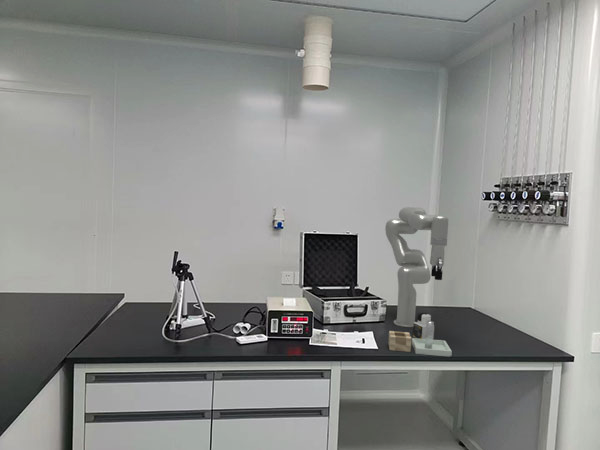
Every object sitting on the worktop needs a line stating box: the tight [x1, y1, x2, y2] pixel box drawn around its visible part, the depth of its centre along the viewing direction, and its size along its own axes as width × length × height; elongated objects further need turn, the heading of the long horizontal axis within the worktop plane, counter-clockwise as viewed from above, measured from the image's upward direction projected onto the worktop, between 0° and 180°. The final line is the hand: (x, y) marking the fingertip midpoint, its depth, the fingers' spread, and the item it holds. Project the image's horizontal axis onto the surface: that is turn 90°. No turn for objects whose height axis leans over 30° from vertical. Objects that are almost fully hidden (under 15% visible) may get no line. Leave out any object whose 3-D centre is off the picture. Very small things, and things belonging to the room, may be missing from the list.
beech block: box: [388, 330, 412, 353], centre depth 204 cm, size 9×9×6 cm
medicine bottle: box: [412, 312, 435, 340], centre depth 220 cm, size 7×7×12 cm
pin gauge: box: [425, 320, 435, 349], centre depth 203 cm, size 3×3×12 cm
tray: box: [411, 337, 453, 358], centre depth 203 cm, size 15×15×2 cm
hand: (436, 278), depth 215 cm, fingers open, 9 cm apart
